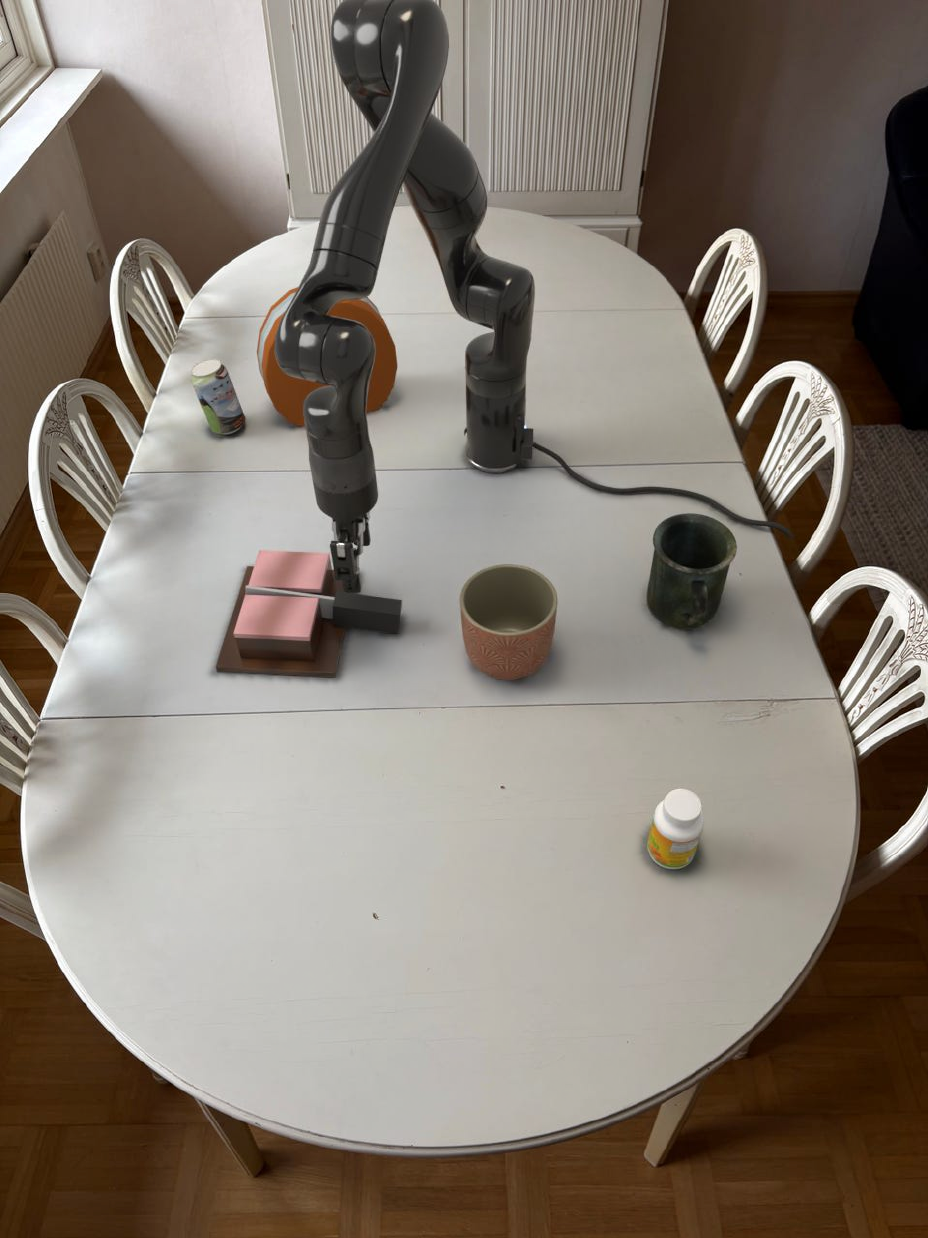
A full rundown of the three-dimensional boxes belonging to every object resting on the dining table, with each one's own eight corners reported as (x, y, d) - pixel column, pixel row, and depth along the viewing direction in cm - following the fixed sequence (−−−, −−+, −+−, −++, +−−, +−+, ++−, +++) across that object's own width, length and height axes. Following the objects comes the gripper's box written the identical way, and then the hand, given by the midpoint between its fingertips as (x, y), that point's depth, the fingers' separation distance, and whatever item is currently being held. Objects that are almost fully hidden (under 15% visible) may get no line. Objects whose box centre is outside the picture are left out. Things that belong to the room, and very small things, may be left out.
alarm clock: (386, 374, 178) (375, 254, 161) (401, 405, 172) (392, 284, 155) (264, 399, 174) (240, 279, 157) (275, 432, 167) (251, 310, 151)
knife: (400, 619, 139) (402, 599, 136) (397, 634, 137) (399, 615, 134) (249, 598, 138) (247, 578, 135) (244, 613, 136) (243, 593, 133)
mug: (714, 574, 143) (729, 511, 134) (731, 652, 133) (749, 590, 125) (638, 575, 143) (648, 512, 134) (650, 652, 134) (662, 591, 125)
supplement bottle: (642, 830, 116) (652, 784, 108) (688, 826, 116) (701, 780, 109) (652, 872, 112) (663, 828, 105) (699, 868, 112) (714, 824, 105)
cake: (356, 575, 144) (352, 545, 140) (335, 677, 132) (329, 648, 127) (248, 570, 146) (240, 540, 141) (216, 671, 133) (207, 642, 128)
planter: (447, 636, 136) (444, 580, 128) (529, 608, 139) (531, 552, 131) (484, 702, 129) (483, 647, 120) (569, 671, 132) (575, 616, 124)
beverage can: (239, 441, 166) (225, 379, 157) (198, 436, 167) (181, 375, 158) (252, 418, 170) (239, 357, 161) (211, 413, 171) (196, 353, 162)
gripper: (366, 512, 113) (379, 608, 125) (382, 433, 122) (393, 530, 134) (300, 510, 113) (319, 606, 125) (322, 431, 122) (337, 528, 135)
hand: (357, 566), depth 130 cm, fingers open, 8 cm apart
